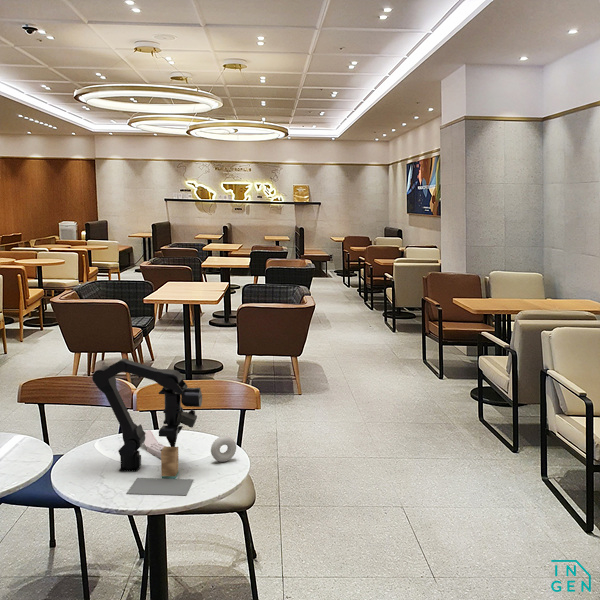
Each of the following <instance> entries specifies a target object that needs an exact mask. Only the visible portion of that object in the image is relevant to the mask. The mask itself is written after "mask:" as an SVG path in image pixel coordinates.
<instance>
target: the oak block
mask: <svg viewBox="0 0 600 600" xmlns="http://www.w3.org/2000/svg"><path fill="white" fill-rule="evenodd" d="M165 446H166V445H165ZM165 446H164V448H163V449H162V451H161V459H160V467H161V469H160V470H161V471H160V473H161V474H160V476H161V477H160V478H165V479H177V477H178V475H179V474H178V473H180V472H179V457H178V456H179V455H178V454H179V446H175V447H171V446H167V447H165Z"/></svg>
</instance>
